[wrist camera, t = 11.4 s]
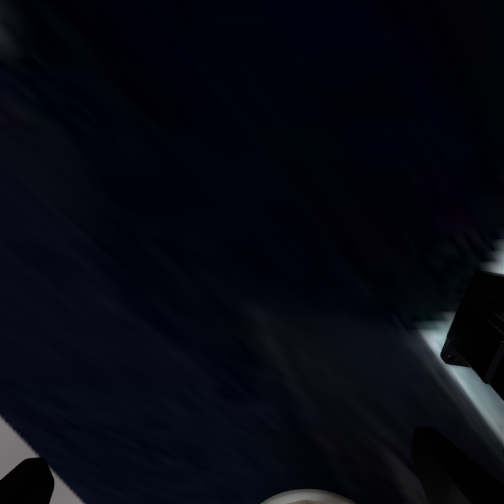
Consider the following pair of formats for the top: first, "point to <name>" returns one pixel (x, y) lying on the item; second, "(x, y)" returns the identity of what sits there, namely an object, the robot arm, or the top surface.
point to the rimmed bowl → (308, 497)
